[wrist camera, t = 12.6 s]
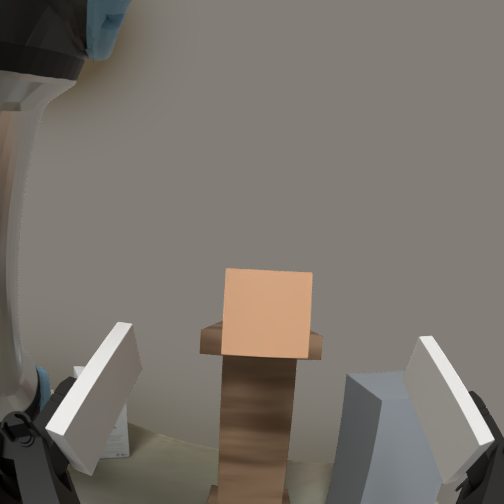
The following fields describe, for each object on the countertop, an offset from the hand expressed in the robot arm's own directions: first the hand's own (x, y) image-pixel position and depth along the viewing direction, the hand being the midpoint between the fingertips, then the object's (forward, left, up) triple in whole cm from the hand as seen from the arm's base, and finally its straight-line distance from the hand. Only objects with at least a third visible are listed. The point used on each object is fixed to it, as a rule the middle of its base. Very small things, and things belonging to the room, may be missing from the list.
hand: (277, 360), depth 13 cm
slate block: (+23, -5, -30) cm, 38 cm away
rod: (+13, +8, 0) cm, 16 cm away
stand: (+18, +11, -30) cm, 36 cm away
